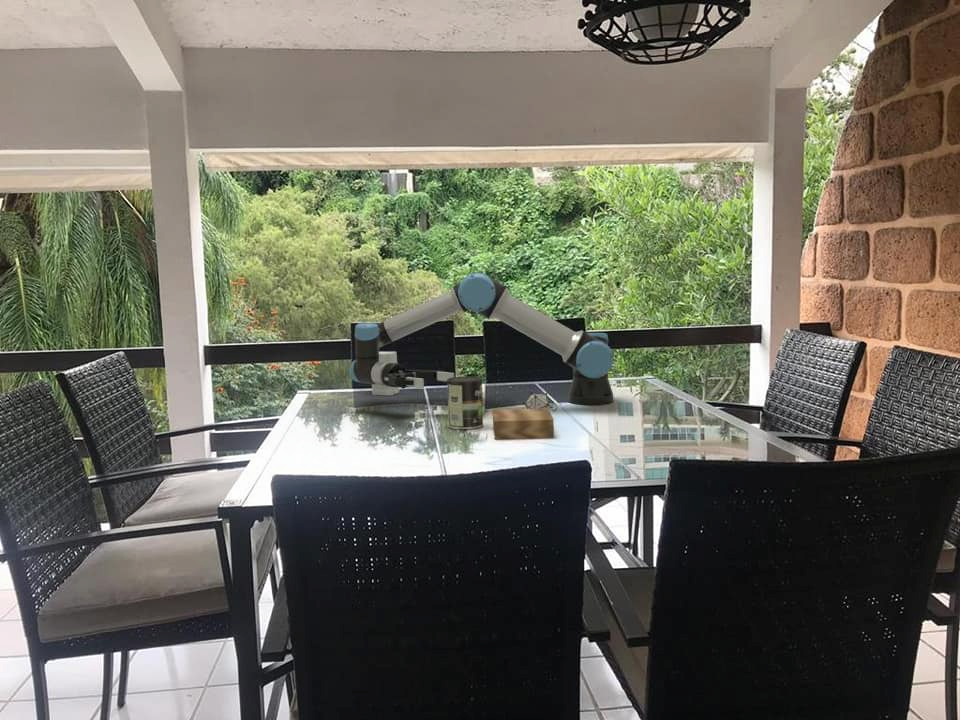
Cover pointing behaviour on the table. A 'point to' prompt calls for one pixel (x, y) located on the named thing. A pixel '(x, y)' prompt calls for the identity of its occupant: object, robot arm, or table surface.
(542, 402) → the game die
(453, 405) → the coffee can
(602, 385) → the robot arm
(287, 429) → the table surface
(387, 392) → the skincare box
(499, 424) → the teak block
